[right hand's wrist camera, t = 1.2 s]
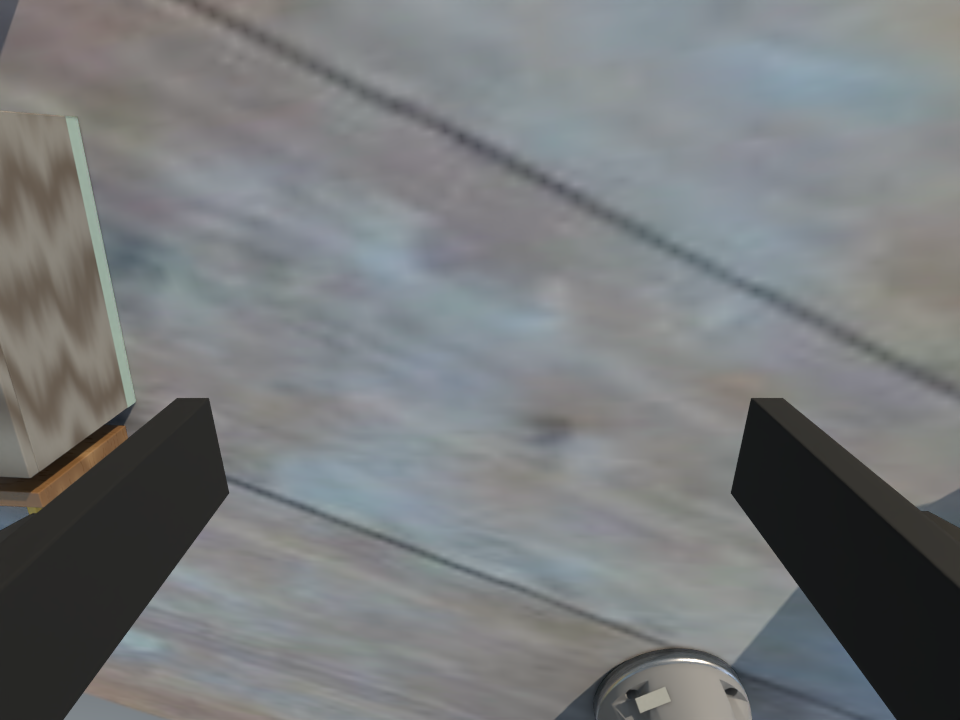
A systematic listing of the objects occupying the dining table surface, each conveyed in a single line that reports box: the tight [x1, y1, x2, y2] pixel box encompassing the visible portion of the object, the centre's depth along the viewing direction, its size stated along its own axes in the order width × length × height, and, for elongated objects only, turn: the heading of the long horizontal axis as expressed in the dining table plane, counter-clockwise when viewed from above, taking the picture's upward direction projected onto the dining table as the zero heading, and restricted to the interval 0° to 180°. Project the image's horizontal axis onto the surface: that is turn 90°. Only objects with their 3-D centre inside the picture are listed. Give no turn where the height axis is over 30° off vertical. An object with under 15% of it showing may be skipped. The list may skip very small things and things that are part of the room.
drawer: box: [0, 425, 128, 515], centre depth 35 cm, size 25×5×9 cm, turn 177°
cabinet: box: [0, 111, 136, 478], centre depth 33 cm, size 21×6×10 cm, turn 177°
